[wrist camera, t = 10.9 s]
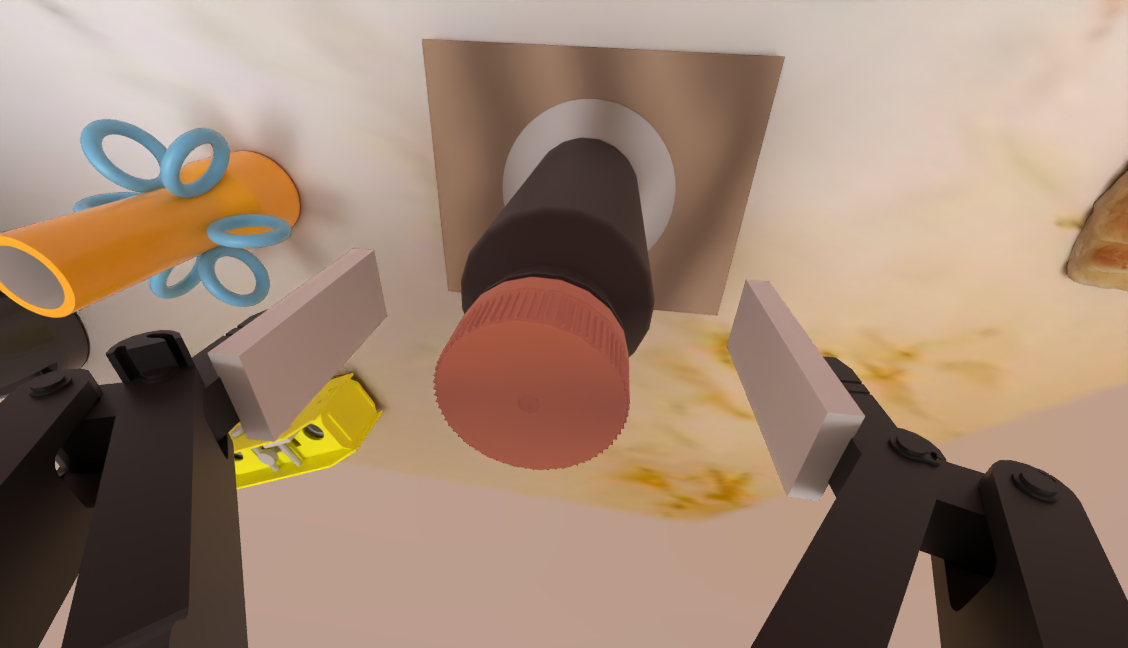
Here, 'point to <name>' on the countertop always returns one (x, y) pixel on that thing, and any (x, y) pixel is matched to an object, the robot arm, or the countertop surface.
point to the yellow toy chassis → (309, 436)
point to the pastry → (1104, 242)
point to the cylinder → (152, 226)
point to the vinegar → (552, 314)
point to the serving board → (618, 117)
